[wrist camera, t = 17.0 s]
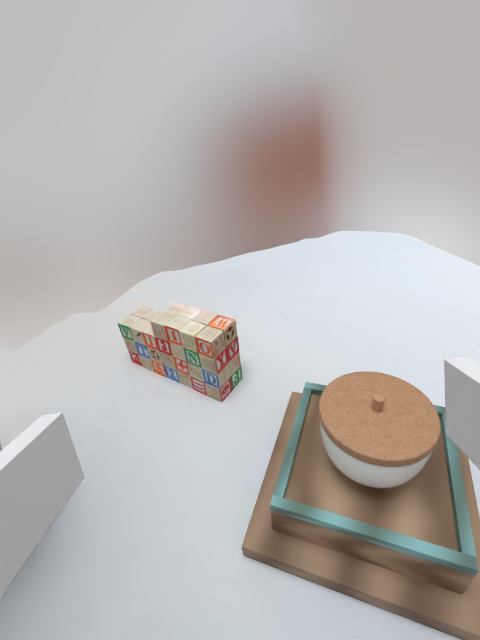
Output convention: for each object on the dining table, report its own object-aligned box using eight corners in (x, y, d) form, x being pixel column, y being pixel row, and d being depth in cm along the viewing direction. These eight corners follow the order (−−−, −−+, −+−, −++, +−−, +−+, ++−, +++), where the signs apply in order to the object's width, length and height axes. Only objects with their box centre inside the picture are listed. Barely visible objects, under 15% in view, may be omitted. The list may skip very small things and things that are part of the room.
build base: (243, 555, 35) (236, 522, 31) (292, 400, 52) (291, 366, 48) (495, 652, 27) (527, 624, 24) (457, 434, 44) (472, 397, 40)
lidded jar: (312, 418, 41) (313, 360, 36) (404, 418, 40) (419, 357, 35) (323, 507, 32) (327, 447, 27) (441, 510, 31) (469, 448, 26)
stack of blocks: (131, 362, 64) (111, 307, 57) (155, 344, 68) (138, 291, 61) (222, 403, 53) (210, 341, 46) (243, 378, 57) (236, 318, 50)
